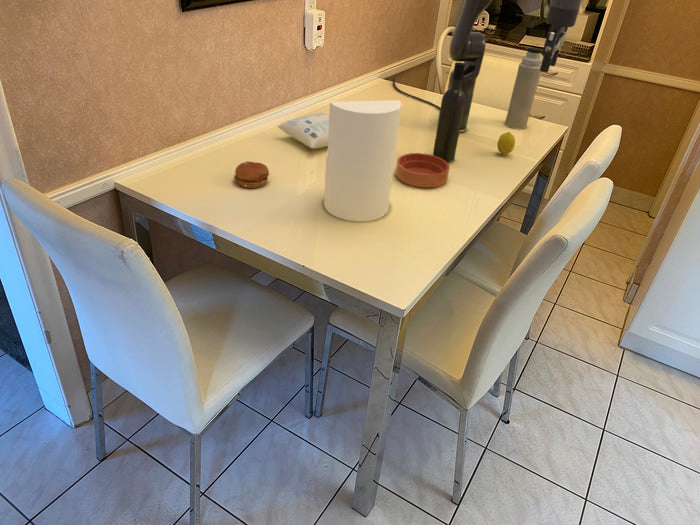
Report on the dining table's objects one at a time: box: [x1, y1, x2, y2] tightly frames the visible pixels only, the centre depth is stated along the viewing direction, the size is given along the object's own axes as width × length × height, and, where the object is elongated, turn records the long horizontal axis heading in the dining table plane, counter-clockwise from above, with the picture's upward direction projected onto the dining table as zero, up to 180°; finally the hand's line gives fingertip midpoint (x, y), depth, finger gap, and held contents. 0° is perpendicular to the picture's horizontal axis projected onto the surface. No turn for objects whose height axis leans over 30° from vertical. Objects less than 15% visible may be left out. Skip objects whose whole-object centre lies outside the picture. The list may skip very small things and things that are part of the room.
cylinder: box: [323, 99, 402, 223], centre depth 132 cm, size 17×17×28 cm
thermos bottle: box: [504, 47, 543, 130], centre depth 193 cm, size 8×8×28 cm
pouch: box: [276, 112, 329, 150], centre depth 172 cm, size 8×19×20 cm
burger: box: [233, 161, 270, 189], centre depth 146 cm, size 10×9×5 cm
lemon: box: [496, 131, 516, 156], centre depth 173 cm, size 6×6×8 cm
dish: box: [395, 152, 450, 188], centre depth 155 cm, size 15×15×4 cm
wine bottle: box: [432, 61, 465, 164], centre depth 161 cm, size 6×6×30 cm
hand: (547, 68), depth 147 cm, fingers open, 8 cm apart
